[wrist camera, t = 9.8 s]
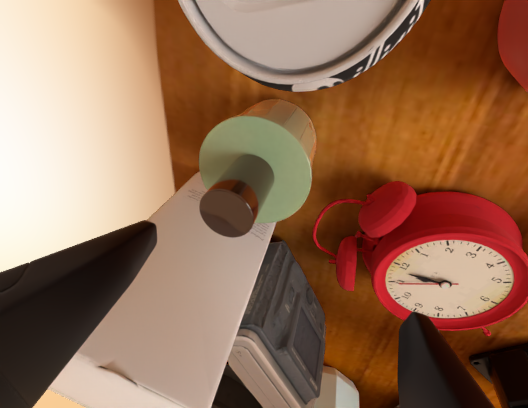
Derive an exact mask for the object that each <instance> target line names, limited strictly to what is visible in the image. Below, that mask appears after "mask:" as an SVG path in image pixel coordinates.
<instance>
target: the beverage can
mask: <svg viewBox="0 0 528 408" xmlns="http://www.w3.org/2000/svg"><path fill="white" fill-rule="evenodd" d="M178 1H179V4H180V6H181V8H182V10H183V12H184V14H185V15H186V17H187V19H188V20H189V22H190V23H191V25H192V27H193V28H194V30H195V31H196V32H197V34H198V35H199V36H200V38H201V39H202V40H203V41H204V43H205V44H206V45H207V46H208V47H209V48H210V49H211V50H212V51H213V52H214V53H215V54H216V55H217V56H218V57H219V58H221V59H222V60H223V61H225V62H226V63H227V64H228V65H230V66H231V67H233V68H235V69H236V70H238V71H239V72H241V73H243V74H244V75H246V76H247V77H249V78H251V79H252V80H254V81H256V82H258V83H260V84H262V85H265V86H268V87H272V88H275V89H279V90H285V91H293V92H300V91H314V90H320V89H325V88H329V87H332V86H336V85H338V84H341V83H343V82H346V81H348V80H350V79H352V78H354V77H356V76H358V75H359V74H361V73H363V72H364V71H366V70H367V69H369V68H370V67H372V66H373V65H375V64H376V63H377V62H379V61H380V60H381V59H382V58H383V57H385V56H386V55H387V54H388V53H389V52H390V51H391V50H392V49H393V48H394V47H395V46H396V45H397V44H398V43H399V42H400V41H401V40H402V39H403V38H404V37H405V36H406V34H407V33H408V32H409V31H410V30H411V28H412V27H413V26H414V24H415V23H416V22H417V20H418V19H419V18H420V16H421V15H422V13H423V12H424V10H425V9H426V7H427V5H428V4H429V2H430V1H431V0H178Z"/></svg>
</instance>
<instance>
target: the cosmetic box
mask: <svg viewBox="0 0 528 408" xmlns="http://www.w3.org/2000/svg"><path fill="white" fill-rule="evenodd" d="M206 192H207V189H206V188H205V186H204V183H203V181H202V178H201V174H200V172H197V173H196V174H195V175H194V176H193V177H192V178H191V179H190V180H188V181H187V182H186V183H185V184H184V185H183V186H182V187H181V188H180V189H179V190H178V191H177V192H176V193H175V194H174V195H173V196H172V197H171V198H170V199H169V200H168V201H167V202H166V203H164V204H163V205H162V206H161V207H160V208H159V209H158V210H157V211H156V212H155V213H154V214H153V215H152V216H151V217H150V218H149V219H148V220H147V221H150V222H152V223H155V224H156V227H157V244H156V246H155V248H154V250H153V251H152V253H151V254H150V256H149V257H148V259H147V261H146V262H145V264H144V265H143V267H142V268H141V270H140V272H139V273H138V275H137V276H136V278H135V279H134V281H133V282H132V283H131V285H130V286H129V287H128V289H127V290H126V291H125V292H124V294H123V295H122V296H121V297H120V299H119V300H118V301H117V302H116V304H115V305H114V306H113V307H112V309H111V310H110V311H109V312H108V314H107V315H106V316H105V317H104V319H103V320H102V321H101V322H100V324H99V325H98V326H97V327H96V329H95V330H94V331H93V332H92V334H91V335H90V336H89V337H88V339H87V340H86V341H85V342H84V344H83V345H82V346H81V347H80V349H79V350H78V351H77V352H76V354H75V355H74V356H73V358H72V359H71V360H70V361H69V363H68V364H67V365H66V366H65V368H64V369H63V370H62V371H61V373H60V374H59V375H58V376H57V378H56V379H55V380H54V381H53V383H52V384H51V385H50V386H49V388H48V389H49V390H51V391H53V392H55V393H57V394H59V395H61V396H63V397H66V398H68V399H69V400H72V401H74V402H76V403H78V404H80V405H82V406H84V407H86V408H211V406H212V403H213V400H214V397H215V394H216V391H217V388H218V386H219V383H220V380H221V377H222V374H223V371H224V368H225V366H226V363H227V360H228V357H229V354H230V352H231V349H232V346H233V343H234V340H235V337H236V335H237V332H238V329H239V326H240V323H241V320H242V318H243V315H244V312H245V309H246V307H247V304H248V301H249V298H250V295H251V293H252V290H253V287H254V284H255V281H256V278H257V275H258V273H259V270H260V267H261V264H262V261H263V259H264V256H265V253H266V250H267V248H268V245H269V242H270V239H271V236H272V234H273V231H274V228H275V225H276V222H272V223H254V225H253V227H252V229H251V230H250V231H249V232H248V233H247V234H245V235H243V236H241V237H236V238H230V237H225V236H222V235H219V234H217V233H216V232H214V231H213V230H211V229H210V228H209V227H208V226H207V225H206V224H205V222H204V221H203V219H202V217H201V215H200V210H199V205H200V200H201V198H202V196H203V195H204V194H205V193H206Z"/></svg>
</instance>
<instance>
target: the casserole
mask: <svg viewBox="0 0 528 408" xmlns="http://www.w3.org/2000/svg"><path fill="white" fill-rule="evenodd" d="M211 408H263V407H262V406H261V404H260V403H259V402H258V401H257V399H256V398H255V397H254V395H253V394H252V393H251V392H250V391H249V389H248V388H247V387H246V386H245V385H244V383H243V382H242V381H241V379H240V378H239V377H238V376H237V375H236V373H235V372H234V371H233V369H232V368H231V367H230V366H229V365H227V364H226V366H225V368H224V371H223V374H222V377H221V380H220V383H219V386H218V388H217V391H216V394H215V397H214V400H213V403H212V406H211Z"/></svg>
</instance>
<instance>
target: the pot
mask: <svg viewBox="0 0 528 408" xmlns="http://www.w3.org/2000/svg"><path fill="white" fill-rule="evenodd" d="M241 114H258V115H263V116H267V117H270V118H273V119H275V120H277V121H279V122H281V123H282V124H284V125H285V126H287V127H288V128H289V129H290V130H292V131H293V132H294V133H295V134H296V135H297V136H298V138H299V139H300V140H301V141H302V143H303V144H304V146H305V148H306V150H307V152H308V154H309V157H310V160H311V165H312V163H313V160H314V156H315V153H316V145H317V137H316V131H315V128H314V125H313V123H312V121H311V120H310V118H309V117H308V115H307V114H306V113H305V112H304V111H303V110H302V109H301V108H300V107H298V106H297V105H295V104H293V103H291V102H288V101H286V100H281V99H268V100H264V101H261V102H258V103H256V104H255V105H253V106H251V107H249V108H248V109H247V110H245V111H244V112H243V113H241Z"/></svg>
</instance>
